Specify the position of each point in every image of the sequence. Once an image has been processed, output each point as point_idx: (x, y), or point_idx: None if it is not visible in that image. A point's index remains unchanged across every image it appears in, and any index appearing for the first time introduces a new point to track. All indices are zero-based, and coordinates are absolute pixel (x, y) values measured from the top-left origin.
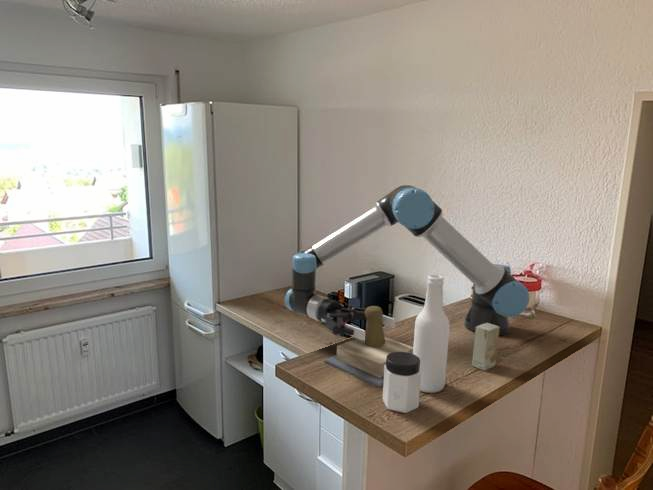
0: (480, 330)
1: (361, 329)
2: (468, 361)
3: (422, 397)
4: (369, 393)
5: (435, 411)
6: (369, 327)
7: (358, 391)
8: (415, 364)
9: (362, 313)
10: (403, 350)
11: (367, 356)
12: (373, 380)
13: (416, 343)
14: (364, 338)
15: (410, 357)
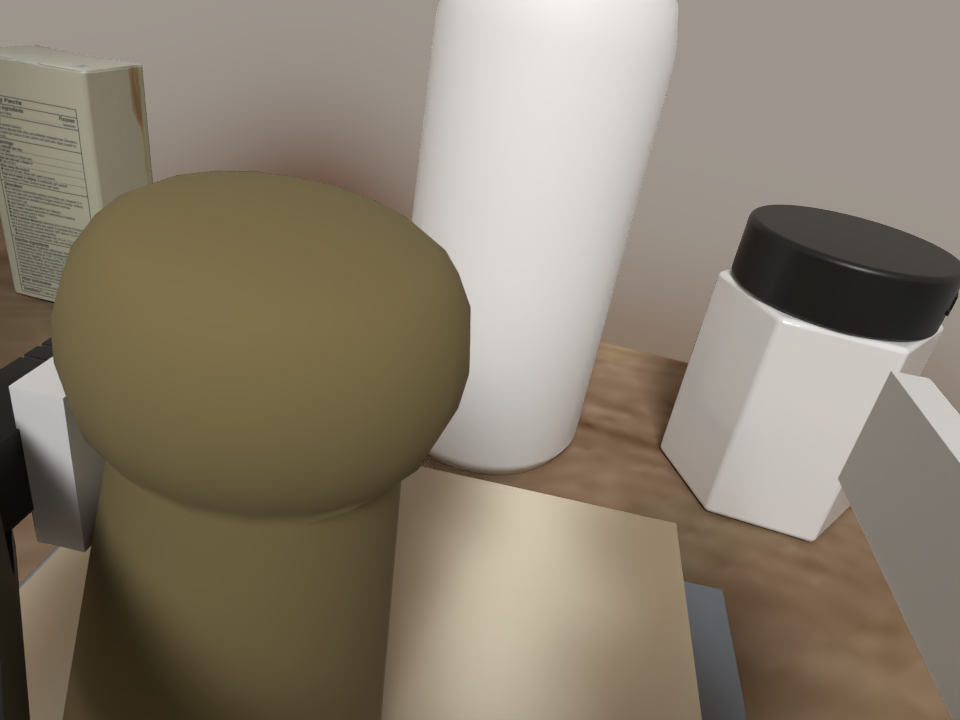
0: (110, 85)
1: (926, 400)
2: (42, 328)
3: (610, 423)
4: (835, 623)
5: (669, 381)
6: (392, 565)
7: (895, 692)
8: (841, 213)
9: (8, 688)
10: None
11: (653, 658)
12: (718, 634)
13: (631, 194)
14: (849, 465)
15: (804, 221)
